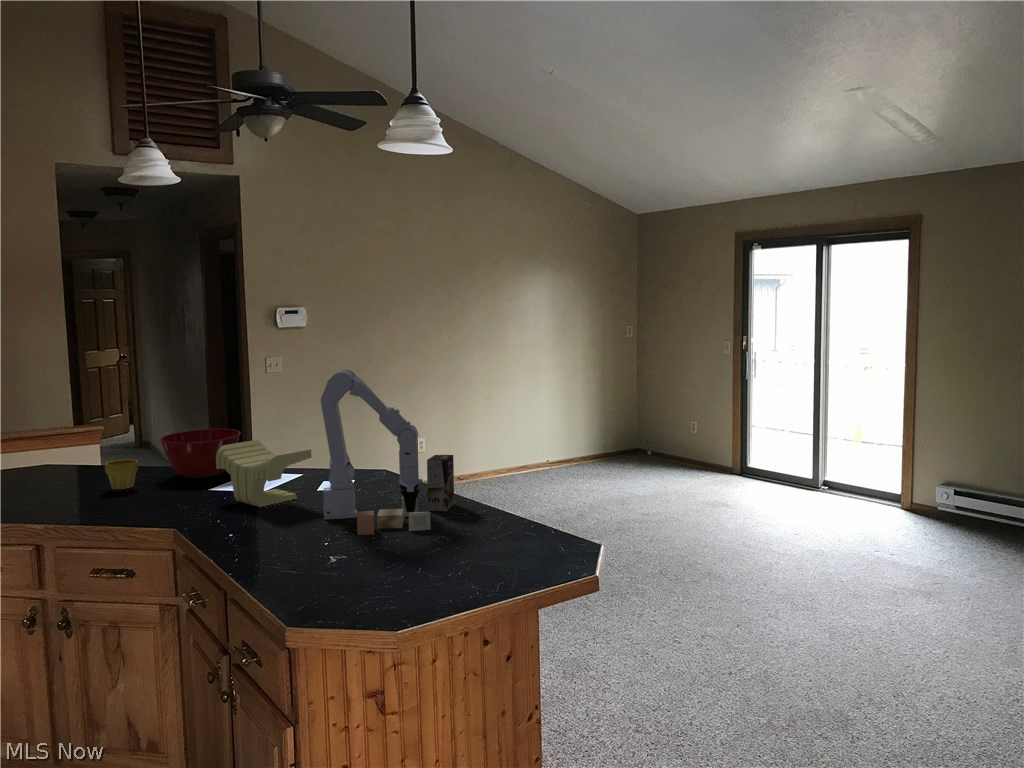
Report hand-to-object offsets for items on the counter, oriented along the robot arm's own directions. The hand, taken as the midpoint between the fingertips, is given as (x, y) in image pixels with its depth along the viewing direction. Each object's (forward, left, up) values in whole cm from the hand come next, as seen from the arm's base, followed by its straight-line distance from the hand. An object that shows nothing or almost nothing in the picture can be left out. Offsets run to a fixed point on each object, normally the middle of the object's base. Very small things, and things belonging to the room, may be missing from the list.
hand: (410, 509), depth 241 cm
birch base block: (-6, -10, -2) cm, 12 cm away
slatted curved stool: (-46, +26, -2) cm, 53 cm away
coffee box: (+10, +6, -2) cm, 12 cm away
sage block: (0, 0, -1) cm, 1 cm away
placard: (+2, -17, -1) cm, 17 cm away
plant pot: (-98, +55, -2) cm, 112 cm away
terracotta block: (-13, -16, -2) cm, 21 cm away
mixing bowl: (-75, +73, -2) cm, 105 cm away
